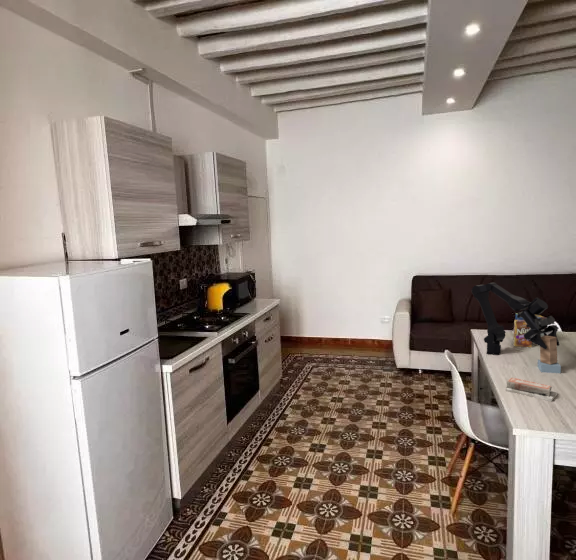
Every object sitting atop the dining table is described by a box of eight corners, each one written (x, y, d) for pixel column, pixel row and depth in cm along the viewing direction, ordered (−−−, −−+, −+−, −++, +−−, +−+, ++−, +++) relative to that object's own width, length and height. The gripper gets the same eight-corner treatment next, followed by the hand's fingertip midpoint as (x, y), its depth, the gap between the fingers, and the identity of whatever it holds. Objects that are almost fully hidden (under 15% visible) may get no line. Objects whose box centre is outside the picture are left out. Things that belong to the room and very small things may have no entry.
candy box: (514, 346, 243) (515, 321, 240) (512, 344, 247) (513, 319, 245) (531, 347, 240) (532, 321, 238) (530, 345, 244) (530, 319, 242)
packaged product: (504, 381, 182) (511, 374, 189) (503, 391, 182) (511, 385, 189) (552, 391, 169) (558, 384, 176) (551, 402, 170) (557, 395, 177)
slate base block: (541, 372, 202) (541, 364, 202) (537, 367, 210) (537, 359, 209) (560, 374, 199) (560, 366, 199) (555, 368, 207) (556, 360, 206)
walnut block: (540, 362, 205) (539, 337, 204) (547, 360, 207) (546, 335, 206) (550, 364, 201) (549, 338, 200) (557, 362, 203) (556, 337, 202)
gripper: (530, 313, 200) (552, 341, 192) (555, 308, 208) (577, 335, 199) (514, 326, 209) (535, 353, 200) (539, 321, 216) (560, 347, 208)
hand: (552, 347), depth 202 cm, fingers open, 9 cm apart
